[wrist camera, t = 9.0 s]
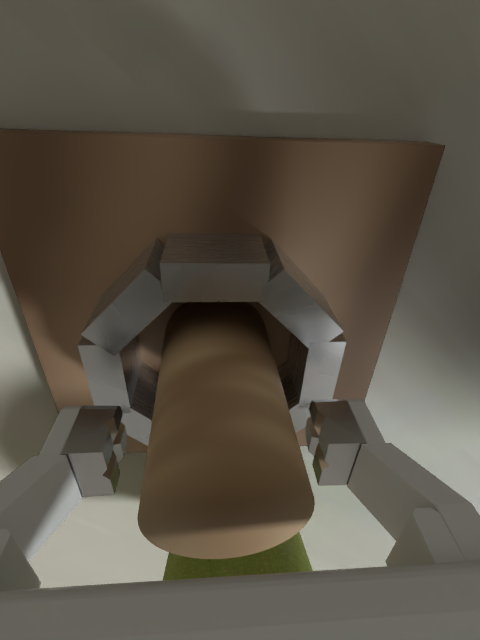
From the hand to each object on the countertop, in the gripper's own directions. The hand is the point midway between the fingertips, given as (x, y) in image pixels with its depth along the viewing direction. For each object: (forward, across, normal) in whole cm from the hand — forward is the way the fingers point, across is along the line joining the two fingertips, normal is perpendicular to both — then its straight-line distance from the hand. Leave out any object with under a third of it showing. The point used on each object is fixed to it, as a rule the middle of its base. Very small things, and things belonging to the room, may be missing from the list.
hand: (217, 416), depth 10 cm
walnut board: (+5, 0, 0) cm, 5 cm away
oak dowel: (+4, 0, 0) cm, 4 cm away
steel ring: (+5, 0, 0) cm, 5 cm away
